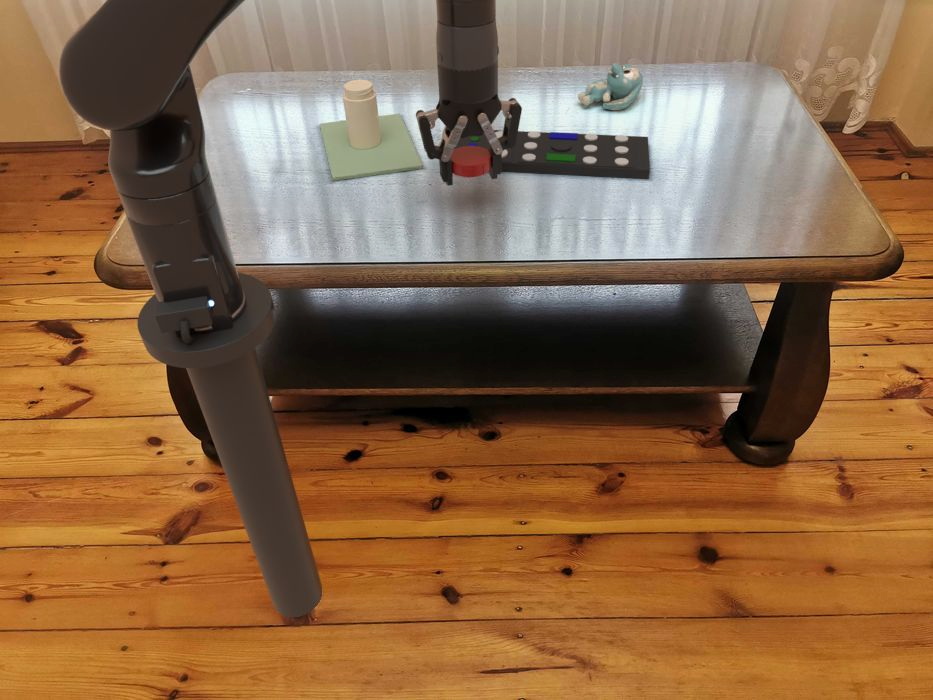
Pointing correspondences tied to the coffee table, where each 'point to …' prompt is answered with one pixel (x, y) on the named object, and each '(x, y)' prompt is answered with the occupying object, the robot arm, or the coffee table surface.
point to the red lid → (470, 161)
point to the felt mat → (370, 150)
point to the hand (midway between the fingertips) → (470, 179)
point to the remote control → (572, 154)
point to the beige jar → (361, 114)
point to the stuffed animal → (615, 88)
